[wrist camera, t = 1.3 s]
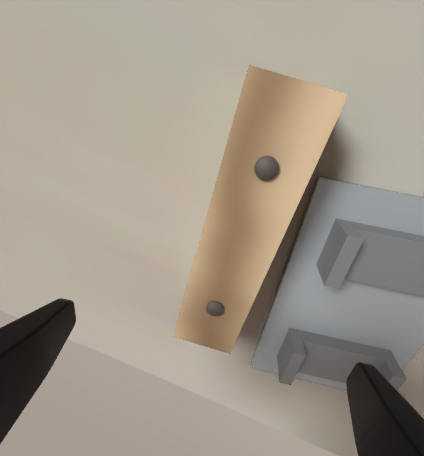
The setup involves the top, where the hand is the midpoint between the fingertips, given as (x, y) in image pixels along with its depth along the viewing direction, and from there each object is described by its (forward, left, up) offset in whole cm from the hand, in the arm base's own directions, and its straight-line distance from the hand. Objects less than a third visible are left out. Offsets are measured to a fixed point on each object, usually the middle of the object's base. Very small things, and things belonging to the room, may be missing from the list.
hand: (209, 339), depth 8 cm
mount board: (-12, +7, -12) cm, 19 cm away
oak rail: (-1, +1, -13) cm, 13 cm away
